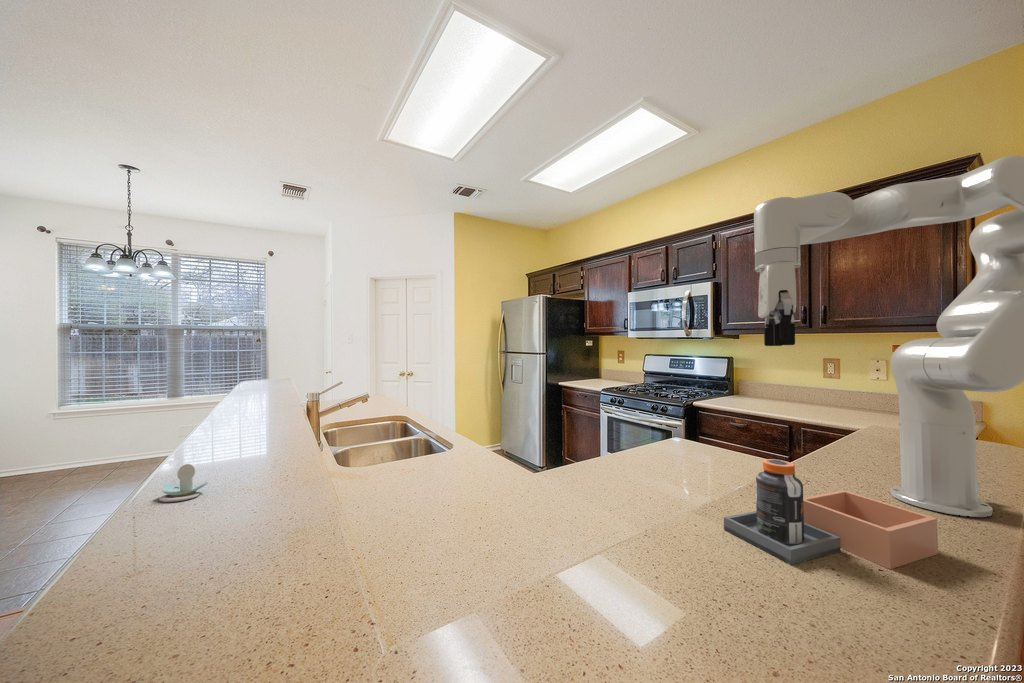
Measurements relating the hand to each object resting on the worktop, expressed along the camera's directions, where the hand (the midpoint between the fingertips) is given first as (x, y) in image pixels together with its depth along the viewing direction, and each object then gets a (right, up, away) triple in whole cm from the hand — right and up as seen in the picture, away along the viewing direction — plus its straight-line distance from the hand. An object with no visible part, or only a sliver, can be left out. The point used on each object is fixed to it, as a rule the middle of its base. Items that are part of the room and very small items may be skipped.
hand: (778, 345), depth 73 cm
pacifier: (-120, -31, -1) cm, 124 cm away
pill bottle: (-13, -29, -17) cm, 36 cm away
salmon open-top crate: (0, -30, -18) cm, 35 cm away
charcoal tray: (-13, -30, -17) cm, 37 cm away
